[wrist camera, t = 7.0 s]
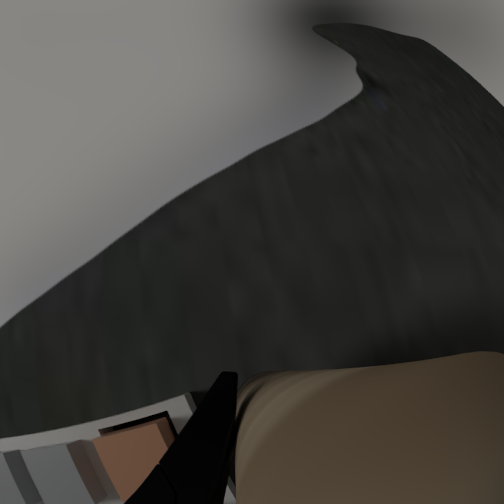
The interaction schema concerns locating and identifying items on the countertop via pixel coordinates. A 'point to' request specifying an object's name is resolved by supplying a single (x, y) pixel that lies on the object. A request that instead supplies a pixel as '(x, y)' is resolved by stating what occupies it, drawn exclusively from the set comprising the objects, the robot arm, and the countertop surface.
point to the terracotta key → (133, 453)
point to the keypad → (75, 460)
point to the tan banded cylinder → (374, 434)
